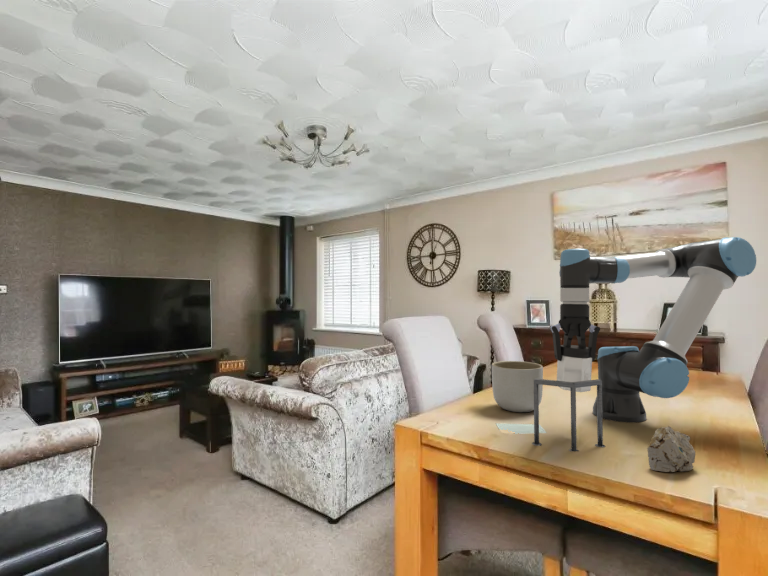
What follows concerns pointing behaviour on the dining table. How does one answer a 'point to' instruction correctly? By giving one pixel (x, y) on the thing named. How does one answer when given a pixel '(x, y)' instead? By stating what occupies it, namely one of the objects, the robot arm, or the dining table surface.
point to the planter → (516, 384)
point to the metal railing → (573, 408)
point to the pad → (520, 428)
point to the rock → (670, 451)
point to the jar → (575, 366)
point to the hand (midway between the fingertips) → (574, 385)
